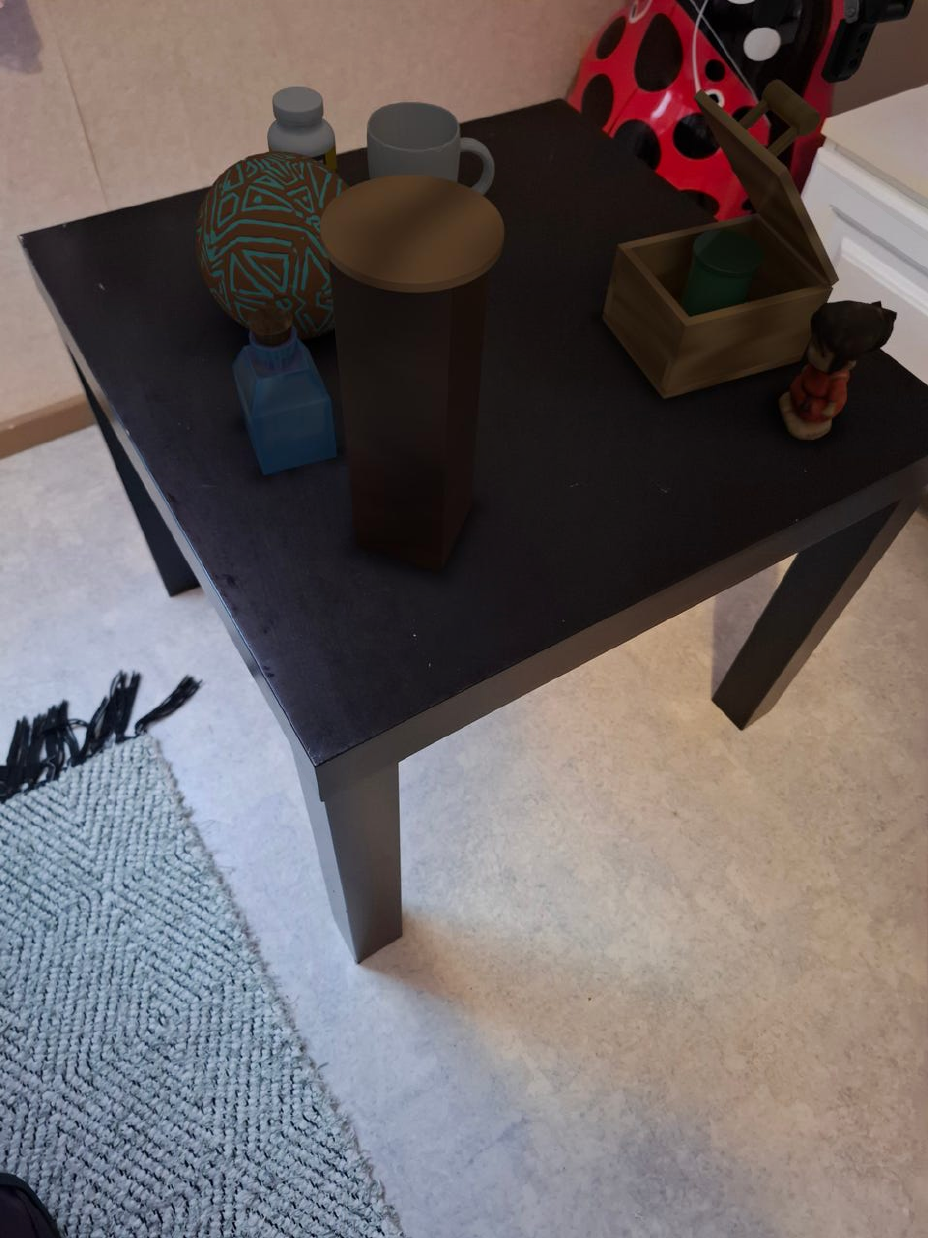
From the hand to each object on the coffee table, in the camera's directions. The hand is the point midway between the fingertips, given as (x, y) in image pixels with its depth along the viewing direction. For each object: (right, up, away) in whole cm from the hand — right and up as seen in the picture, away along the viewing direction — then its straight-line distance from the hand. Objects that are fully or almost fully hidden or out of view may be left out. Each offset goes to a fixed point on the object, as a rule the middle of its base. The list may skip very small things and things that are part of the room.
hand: (798, 50), depth 62 cm
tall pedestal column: (-28, -33, +7) cm, 44 cm away
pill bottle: (-40, +2, +29) cm, 49 cm away
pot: (-1, -13, +20) cm, 24 cm away
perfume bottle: (-38, -25, +12) cm, 47 cm away
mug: (-27, +1, +30) cm, 40 cm away
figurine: (+6, -22, +16) cm, 28 cm away
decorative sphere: (-39, -13, +20) cm, 46 cm away
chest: (-1, -14, +21) cm, 25 cm away
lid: (+1, -6, +10) cm, 11 cm away
